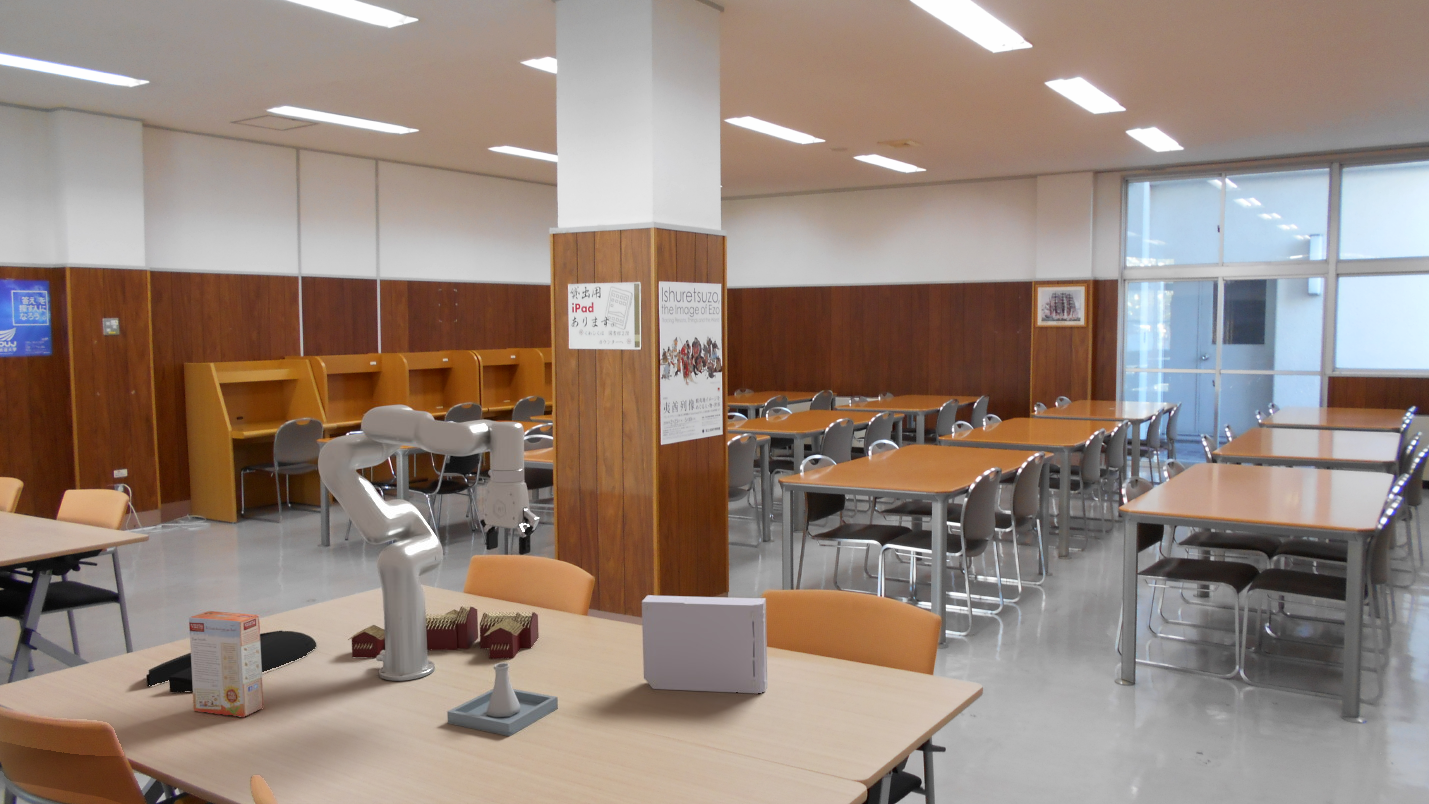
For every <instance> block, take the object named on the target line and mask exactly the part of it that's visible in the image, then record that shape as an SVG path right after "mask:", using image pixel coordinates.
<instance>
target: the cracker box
mask: <svg viewBox="0 0 1429 804" xmlns="http://www.w3.org/2000/svg"><path fill="white" fill-rule="evenodd" d="M188 621H189V622H188V626H189V645H190V646H189V647H190V653H191V665H192V685H193V692H192V701H193V702H192V703H193V711H194V712H195V711H199V712H198V713H204V712H208V713H207V714H212V713H215V715H220V714H223V715H222V716H228V715H233V716H232V717H236V716H241V717H240V718H246V717H247V715H248V716H250V715H252V714H254V713H253V712H255V711H257V710H259V709H261V710H263V709H264V708H263V707H264V691H263V690H264V689H263V688H264V685H263V674H262V666H261V646H260V634H261V631H260V630H261V629H260V615H259V614H251V613H238V612H224V611H215V610H213V611H211V610H209V611H204V612H202V613H199V614H195V615H192V616H190V617H188ZM262 708H263V709H262ZM259 711H260V710H259ZM257 712H258V711H257ZM251 713H252V714H251ZM255 713H256V712H255ZM249 714H250V715H249ZM245 716H246V717H245Z"/></svg>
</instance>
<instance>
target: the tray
mask: <svg viewBox="0 0 1429 804" xmlns="http://www.w3.org/2000/svg"><path fill="white" fill-rule="evenodd" d="M513 690H514V692H515V695H516V697H517V699H518V701H519V704H520V706H521V707H520V712H518V713H516V714H514V715H512V716H506V717H493V716H489V715H486V712H487V708H488V705H489V702H490V698H491V695H492V692H493V688H492V689H490V690H488V691H486V692H483V693H481V694H480V695H477V696H476V697H473V698H472V699H469V700H468V701H466V702H463V703H462V704H460V705H458V706H456V707H453V708H451V709H450V710H448V711H446V712H447V724H450V725H453V726H459V727H462V728H463V727H464V728H469V729H472V730H477V731H483V732H487V733H491V734H497V735H501V736H505V737H511V736H513V735H514V734H517V733H518V732H520V731H522V730H523V729H525V728H527V727H528V726H530V725H532V724H534V723H535V722H537V721H539V720H540V718H541V719H543V718H544V717H546V716H547V715H549V714H551V713H553V712H554V711H556V710H558V708H559V706H558V705H559V704H558V701H559V699H558V696H554V695H548V694H542V693H537V692H532V691H526V690H522V689H521V690H520V689H515V688H513ZM538 719H539V720H538Z"/></svg>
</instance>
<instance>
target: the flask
mask: <svg viewBox="0 0 1429 804" xmlns="http://www.w3.org/2000/svg"><path fill="white" fill-rule="evenodd" d="M509 667H510V663H507V662H498V663H495V664H494V666H493V670H494V673H495V678H494V683H493V685H494V686H493V688H492V689H493V692H492V695H491V698H490V702H489V705H488V708H487V712H486V715H489V716H493V717H506V716H512V715H514V714H516V713H518V712H520V707H521V706H520V704H519V701H518V699H517V697H516V695H515V692H514V690H513V689H514V688H513V685H512V683H511V680H510V674H509Z"/></svg>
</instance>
